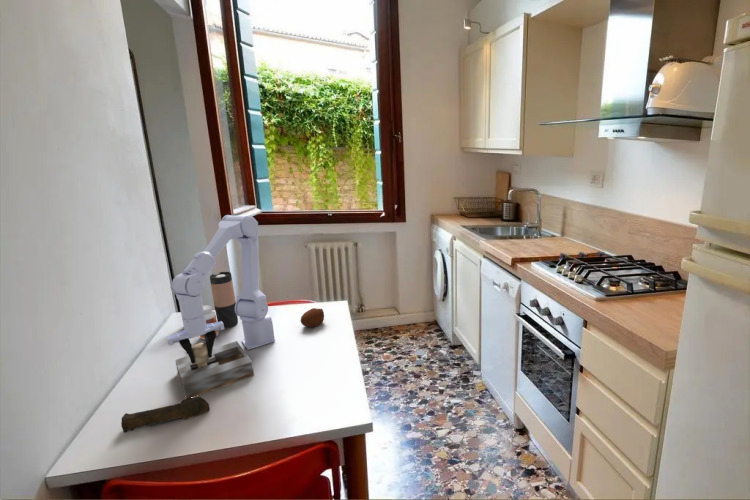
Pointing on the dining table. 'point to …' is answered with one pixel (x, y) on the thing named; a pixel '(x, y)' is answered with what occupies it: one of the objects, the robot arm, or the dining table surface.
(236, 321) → the travel mug
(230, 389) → the dining table surface
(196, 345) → the keyhole peg
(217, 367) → the keyhole plate
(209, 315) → the pill bottle
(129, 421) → the hand tool
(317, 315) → the potato
